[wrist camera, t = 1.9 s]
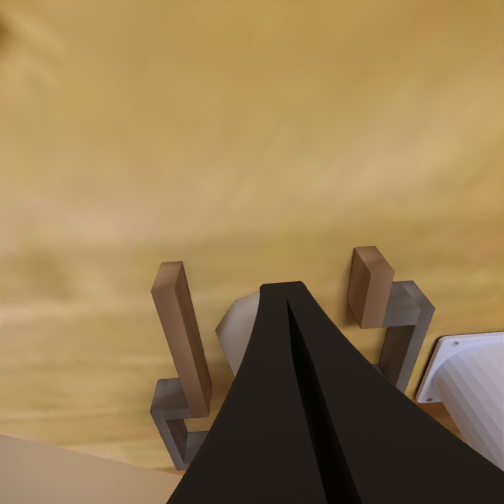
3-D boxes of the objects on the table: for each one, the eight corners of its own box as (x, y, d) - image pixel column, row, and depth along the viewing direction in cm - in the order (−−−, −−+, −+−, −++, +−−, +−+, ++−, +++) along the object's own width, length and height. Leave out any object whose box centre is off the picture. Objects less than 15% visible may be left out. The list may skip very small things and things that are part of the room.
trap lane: (423, 242, 17) (450, 267, 15) (362, 455, 31) (371, 483, 29) (113, 266, 17) (95, 295, 15) (192, 468, 31) (189, 497, 29)
